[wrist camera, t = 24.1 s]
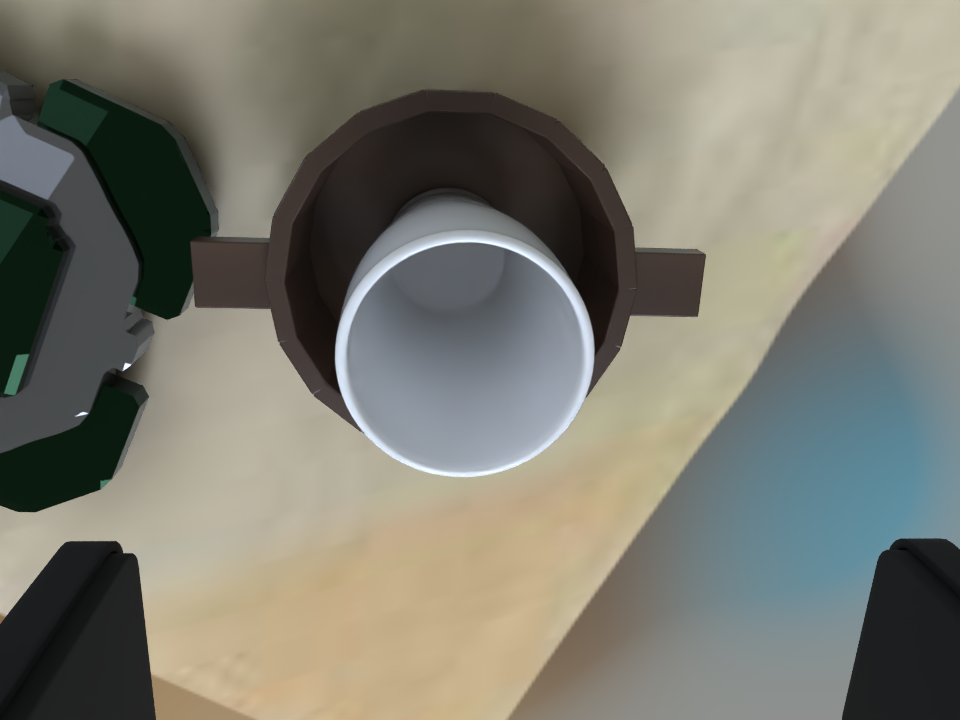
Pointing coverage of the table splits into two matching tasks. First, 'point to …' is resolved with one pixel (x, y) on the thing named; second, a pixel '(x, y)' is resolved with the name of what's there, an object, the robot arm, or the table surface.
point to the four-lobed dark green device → (84, 278)
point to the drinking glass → (462, 339)
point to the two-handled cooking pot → (426, 166)
